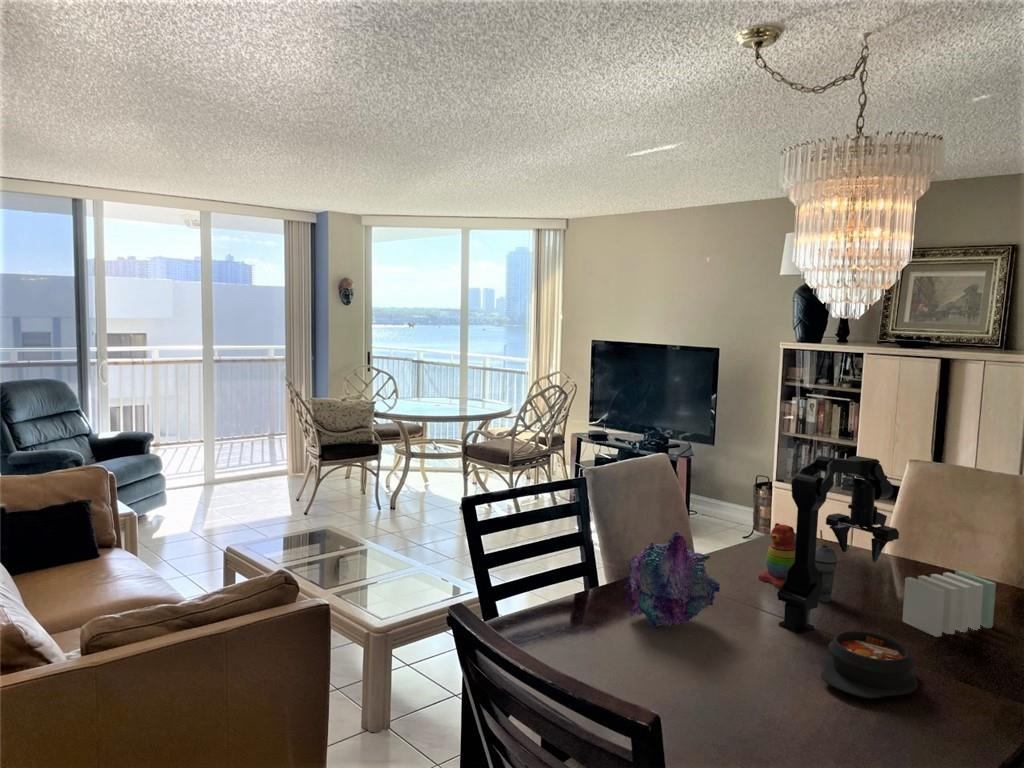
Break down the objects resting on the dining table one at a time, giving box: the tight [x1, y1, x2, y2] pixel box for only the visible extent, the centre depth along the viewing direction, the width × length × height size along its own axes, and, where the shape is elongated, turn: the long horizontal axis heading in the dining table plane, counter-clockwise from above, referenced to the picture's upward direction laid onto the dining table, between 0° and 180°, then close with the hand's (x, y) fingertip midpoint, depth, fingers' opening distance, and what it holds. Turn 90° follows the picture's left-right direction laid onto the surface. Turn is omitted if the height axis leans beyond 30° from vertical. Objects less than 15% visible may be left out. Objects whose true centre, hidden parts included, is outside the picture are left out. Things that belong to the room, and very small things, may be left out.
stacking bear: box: [758, 522, 796, 589], centre depth 216 cm, size 11×10×18 cm
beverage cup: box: [815, 529, 839, 603], centre depth 203 cm, size 7×7×20 cm
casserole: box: [820, 630, 919, 700], centre depth 155 cm, size 25×19×8 cm
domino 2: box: [917, 575, 958, 635], centre depth 185 cm, size 2×10×12 cm, turn 19°
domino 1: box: [902, 576, 945, 638], centre depth 184 cm, size 2×10×12 cm, turn 19°
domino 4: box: [942, 571, 983, 631], centre depth 188 cm, size 2×10×12 cm, turn 19°
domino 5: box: [954, 570, 997, 629], centre depth 189 cm, size 2×10×12 cm, turn 19°
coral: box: [623, 530, 721, 628], centre depth 183 cm, size 25×21×25 cm
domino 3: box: [929, 573, 971, 633], centre depth 186 cm, size 2×10×12 cm, turn 19°
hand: (859, 556), depth 197 cm, fingers open, 9 cm apart
